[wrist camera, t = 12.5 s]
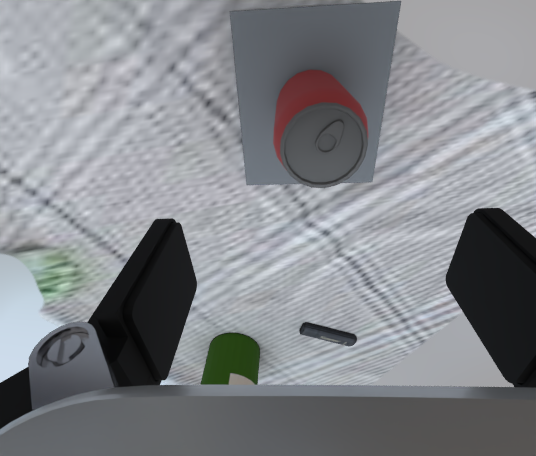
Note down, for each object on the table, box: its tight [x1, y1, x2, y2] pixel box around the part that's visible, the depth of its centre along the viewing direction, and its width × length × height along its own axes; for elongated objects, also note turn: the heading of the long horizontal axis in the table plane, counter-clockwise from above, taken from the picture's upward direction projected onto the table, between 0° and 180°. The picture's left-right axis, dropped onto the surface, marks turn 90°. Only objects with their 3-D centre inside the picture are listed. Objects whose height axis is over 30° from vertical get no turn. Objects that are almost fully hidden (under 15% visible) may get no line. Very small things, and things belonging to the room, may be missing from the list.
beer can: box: [273, 70, 369, 188], centre depth 24 cm, size 7×7×12 cm
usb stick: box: [300, 322, 357, 346], centre depth 49 cm, size 10×3×2 cm, turn 72°
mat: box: [230, 1, 401, 185], centre depth 29 cm, size 16×14×1 cm
